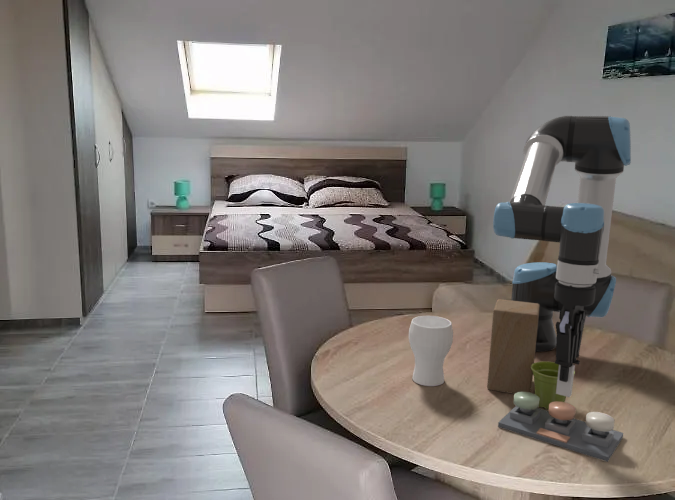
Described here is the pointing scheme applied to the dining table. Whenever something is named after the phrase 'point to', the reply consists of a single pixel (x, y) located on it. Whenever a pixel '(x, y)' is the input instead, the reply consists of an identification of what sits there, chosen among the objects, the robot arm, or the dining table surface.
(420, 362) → the cup
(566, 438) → the console
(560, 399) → the plant pot
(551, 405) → the button terracotta
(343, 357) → the dining table surface
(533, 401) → the button sage
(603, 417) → the button cream
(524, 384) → the wooden block
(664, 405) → the dining table surface
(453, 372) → the dining table surface
